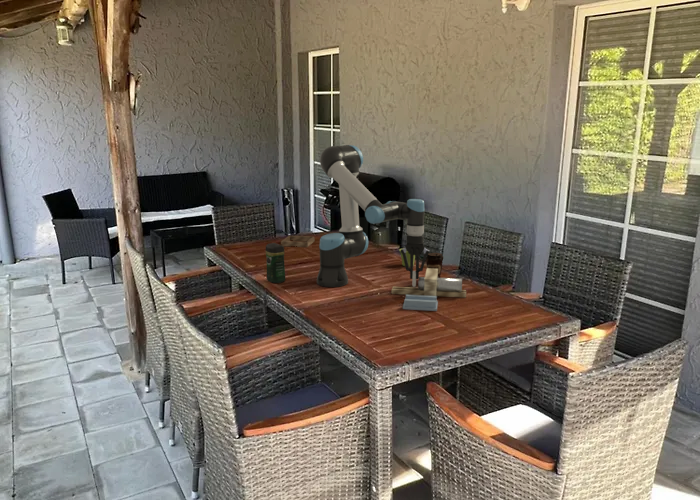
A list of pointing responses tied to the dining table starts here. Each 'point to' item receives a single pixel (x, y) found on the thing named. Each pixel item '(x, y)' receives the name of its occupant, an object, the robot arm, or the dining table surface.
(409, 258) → the plant pot
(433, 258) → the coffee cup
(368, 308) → the dining table surface
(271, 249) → the coffee jar
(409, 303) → the v block
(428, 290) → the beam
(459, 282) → the axle
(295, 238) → the can corral
